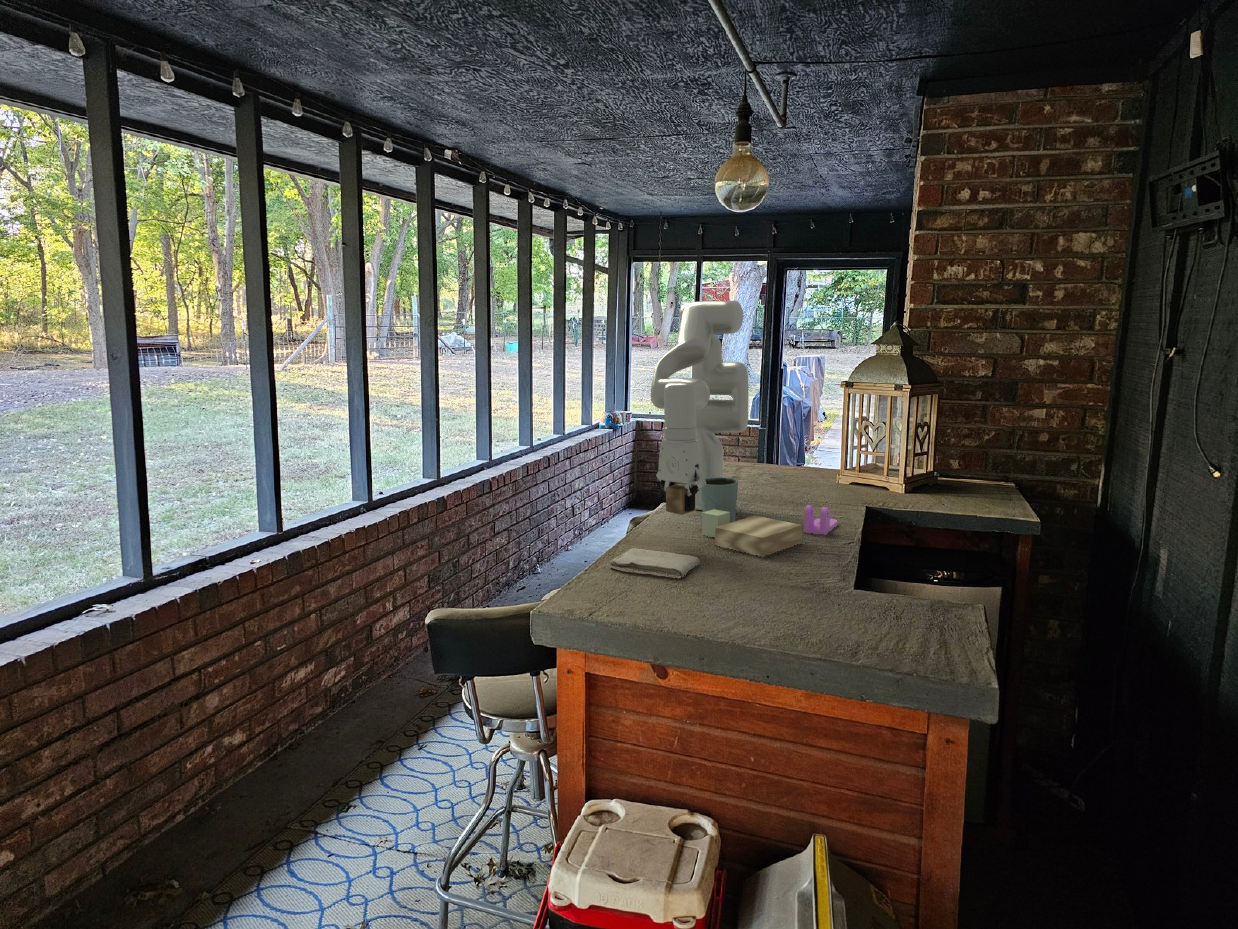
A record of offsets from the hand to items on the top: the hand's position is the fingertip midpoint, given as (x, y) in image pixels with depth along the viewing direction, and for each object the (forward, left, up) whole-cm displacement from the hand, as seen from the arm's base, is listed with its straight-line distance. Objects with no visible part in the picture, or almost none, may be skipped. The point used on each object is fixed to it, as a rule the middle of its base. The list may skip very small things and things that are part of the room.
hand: (680, 508), depth 187 cm
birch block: (+13, +14, -10) cm, 21 cm away
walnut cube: (0, 0, -1) cm, 1 cm away
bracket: (+17, +37, -10) cm, 42 cm away
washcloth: (+7, -17, -10) cm, 21 cm away
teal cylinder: (-6, +23, -10) cm, 25 cm away
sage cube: (0, +14, -10) cm, 17 cm away
